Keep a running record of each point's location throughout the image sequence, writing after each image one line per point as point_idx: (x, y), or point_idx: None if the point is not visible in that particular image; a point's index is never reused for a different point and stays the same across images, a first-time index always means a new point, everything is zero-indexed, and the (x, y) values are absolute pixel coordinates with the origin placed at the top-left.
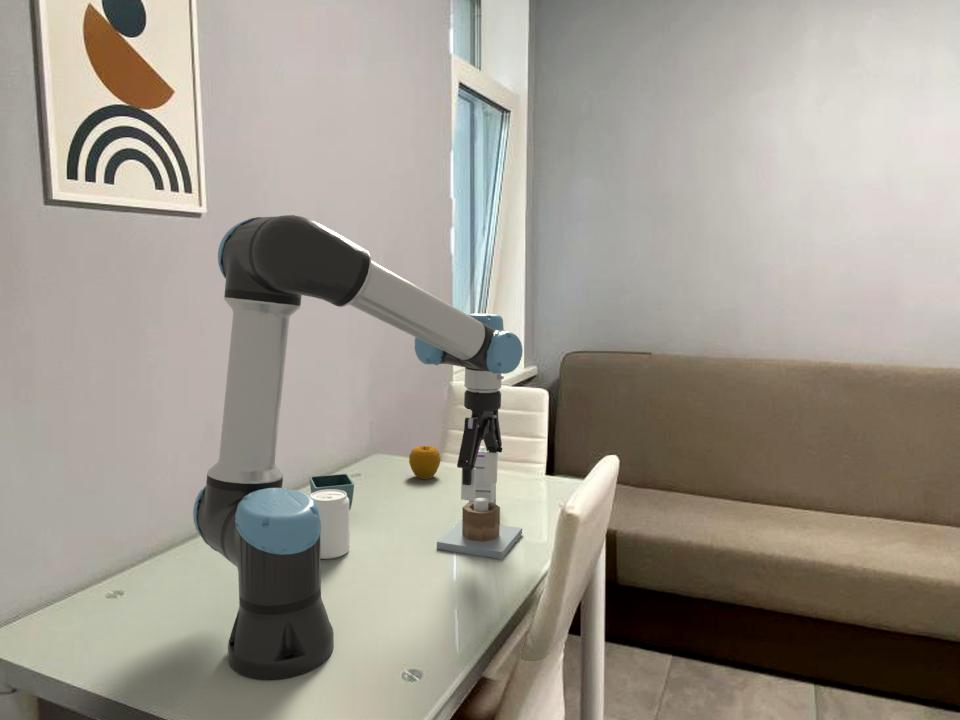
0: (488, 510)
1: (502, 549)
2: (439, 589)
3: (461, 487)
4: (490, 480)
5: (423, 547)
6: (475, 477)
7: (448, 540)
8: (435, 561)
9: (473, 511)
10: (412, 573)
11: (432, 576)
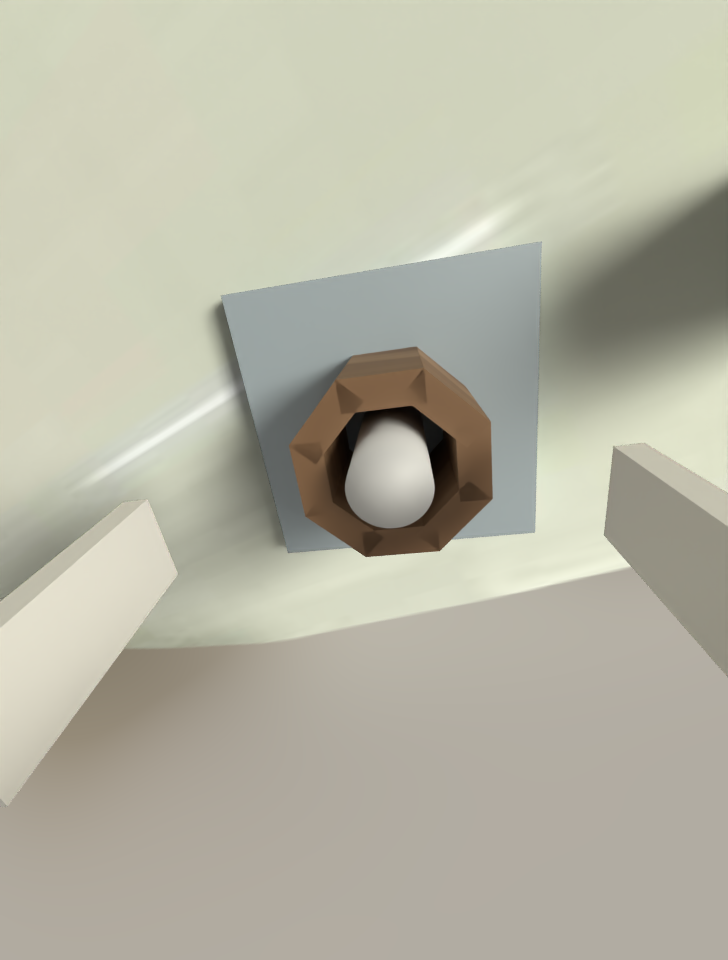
0: (362, 524)
1: (307, 547)
2: (11, 474)
3: (64, 551)
4: (616, 505)
5: (210, 230)
6: (74, 708)
7: (262, 336)
8: (141, 358)
9: (304, 468)
10: (15, 340)
11: (52, 413)
